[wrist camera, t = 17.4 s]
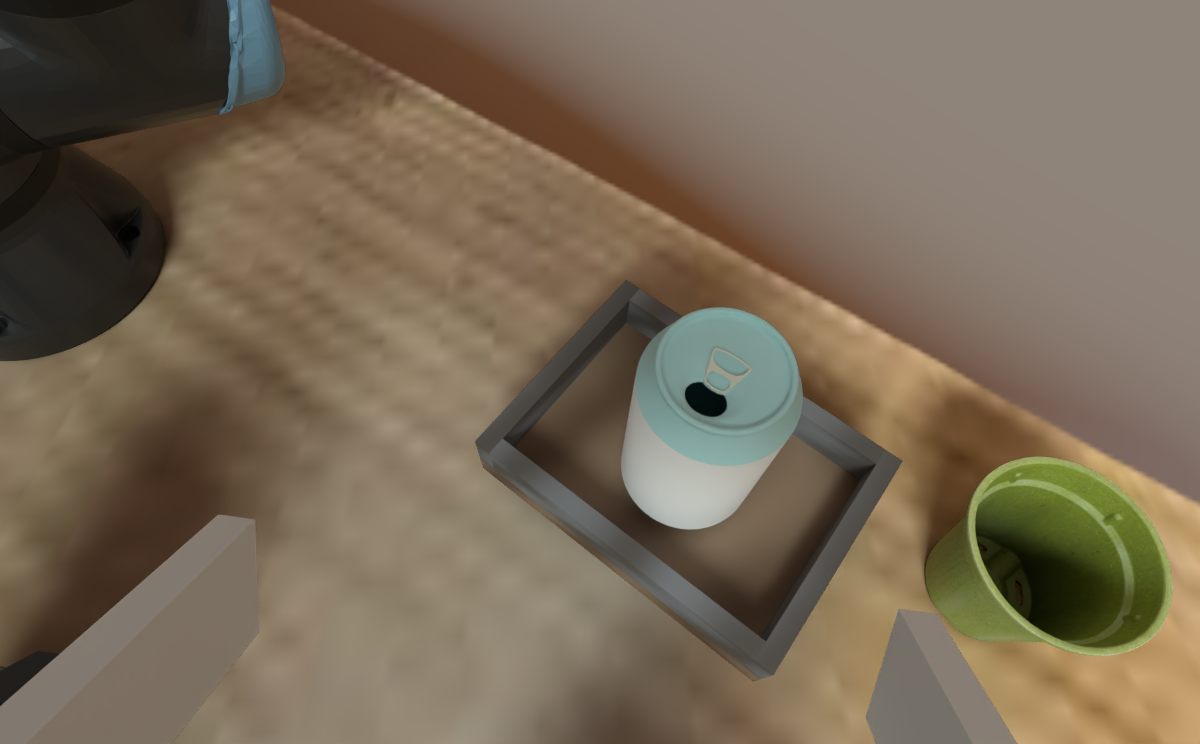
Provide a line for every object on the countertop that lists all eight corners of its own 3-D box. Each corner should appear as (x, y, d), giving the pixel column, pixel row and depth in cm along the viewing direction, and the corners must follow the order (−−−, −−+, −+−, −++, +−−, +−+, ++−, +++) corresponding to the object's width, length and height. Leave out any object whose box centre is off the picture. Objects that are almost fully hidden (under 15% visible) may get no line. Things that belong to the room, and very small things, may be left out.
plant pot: (889, 496, 43) (959, 443, 36) (1044, 517, 43) (1148, 469, 35) (900, 659, 39) (981, 639, 31) (1072, 684, 39) (1197, 669, 31)
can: (756, 531, 37) (831, 447, 27) (623, 534, 37) (645, 451, 26) (739, 409, 40) (799, 291, 30) (616, 412, 40) (633, 293, 29)
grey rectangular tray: (488, 485, 43) (474, 441, 36) (618, 339, 48) (626, 279, 41) (740, 685, 38) (773, 674, 32) (854, 501, 43) (902, 461, 37)
